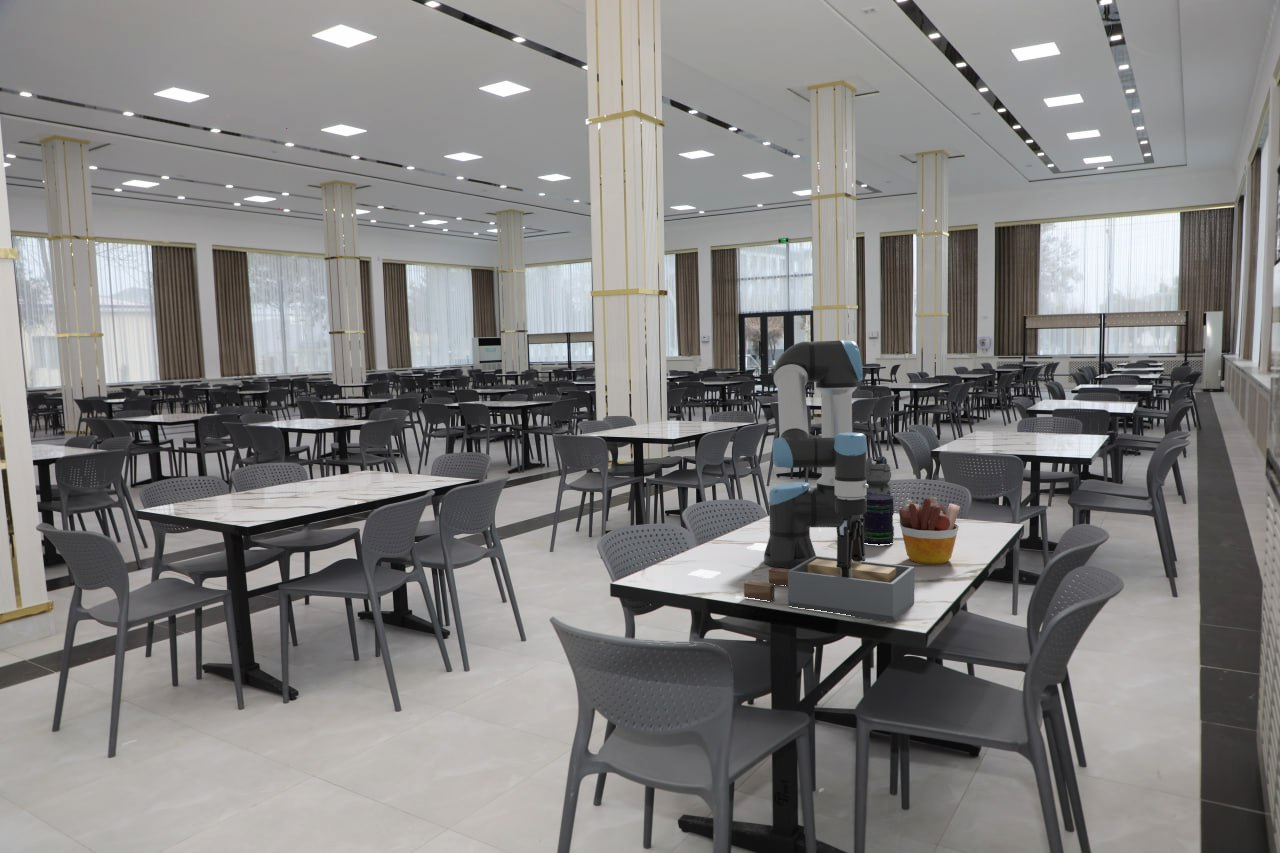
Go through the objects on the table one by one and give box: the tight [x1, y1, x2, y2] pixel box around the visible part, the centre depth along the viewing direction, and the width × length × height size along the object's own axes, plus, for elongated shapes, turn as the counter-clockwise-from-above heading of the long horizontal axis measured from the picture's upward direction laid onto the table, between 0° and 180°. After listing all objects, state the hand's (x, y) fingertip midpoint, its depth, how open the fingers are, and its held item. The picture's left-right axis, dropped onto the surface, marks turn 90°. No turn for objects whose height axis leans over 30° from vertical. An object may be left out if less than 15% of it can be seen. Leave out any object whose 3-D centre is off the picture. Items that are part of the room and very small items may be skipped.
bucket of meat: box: [898, 496, 961, 565], centre depth 252 cm, size 20×16×20 cm
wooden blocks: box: [743, 566, 791, 602], centre depth 224 cm, size 18×7×4 cm, turn 147°
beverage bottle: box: [861, 455, 892, 517], centre depth 300 cm, size 10×13×25 cm
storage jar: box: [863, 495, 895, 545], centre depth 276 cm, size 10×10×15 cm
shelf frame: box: [787, 555, 915, 623], centre depth 210 cm, size 26×18×9 cm
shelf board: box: [808, 559, 896, 583], centre depth 210 cm, size 20×6×2 cm, turn 57°
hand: (851, 590), depth 210 cm, fingers closed on shelf board, 6 cm apart
